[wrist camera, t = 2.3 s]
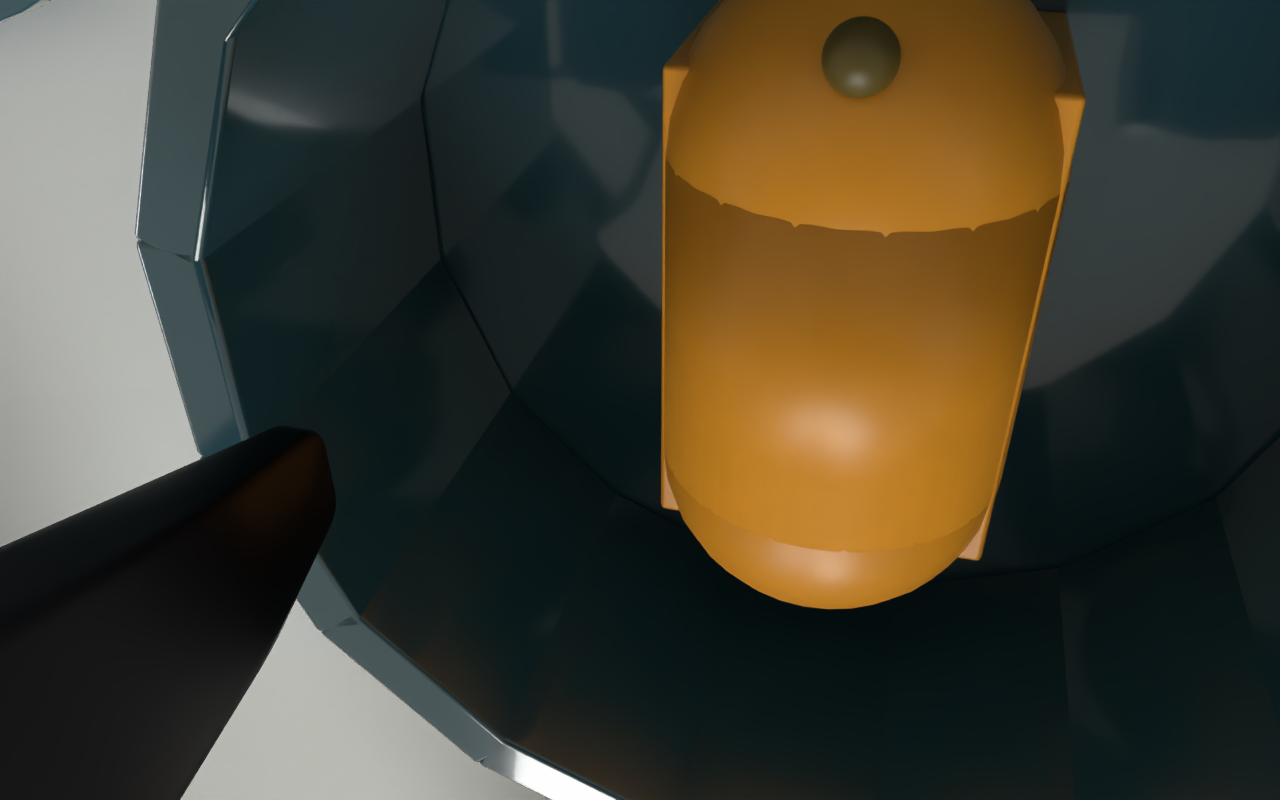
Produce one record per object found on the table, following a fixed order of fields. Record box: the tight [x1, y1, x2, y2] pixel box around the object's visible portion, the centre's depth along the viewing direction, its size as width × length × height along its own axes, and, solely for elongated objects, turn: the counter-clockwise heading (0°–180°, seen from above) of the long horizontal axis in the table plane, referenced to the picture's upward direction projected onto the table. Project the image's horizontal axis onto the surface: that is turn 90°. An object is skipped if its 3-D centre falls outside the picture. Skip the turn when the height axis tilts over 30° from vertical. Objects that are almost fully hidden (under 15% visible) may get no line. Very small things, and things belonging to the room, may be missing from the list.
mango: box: [661, 0, 1086, 609], centre depth 13 cm, size 8×4×5 cm, turn 1°
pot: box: [135, 0, 1280, 800], centre depth 13 cm, size 15×15×6 cm
